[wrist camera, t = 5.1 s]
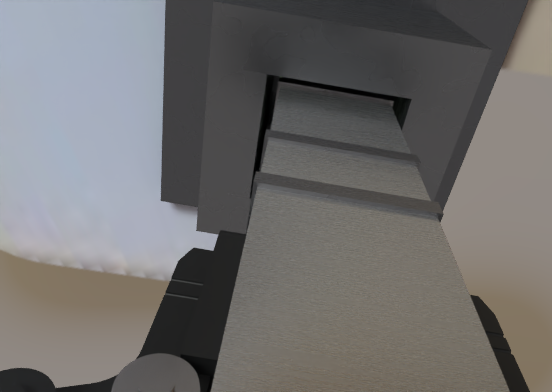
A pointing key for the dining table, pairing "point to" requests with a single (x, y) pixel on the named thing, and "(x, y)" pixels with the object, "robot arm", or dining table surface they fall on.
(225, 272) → the robot arm
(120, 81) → the dining table surface
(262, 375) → the column
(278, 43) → the sleeve
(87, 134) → the dining table surface
